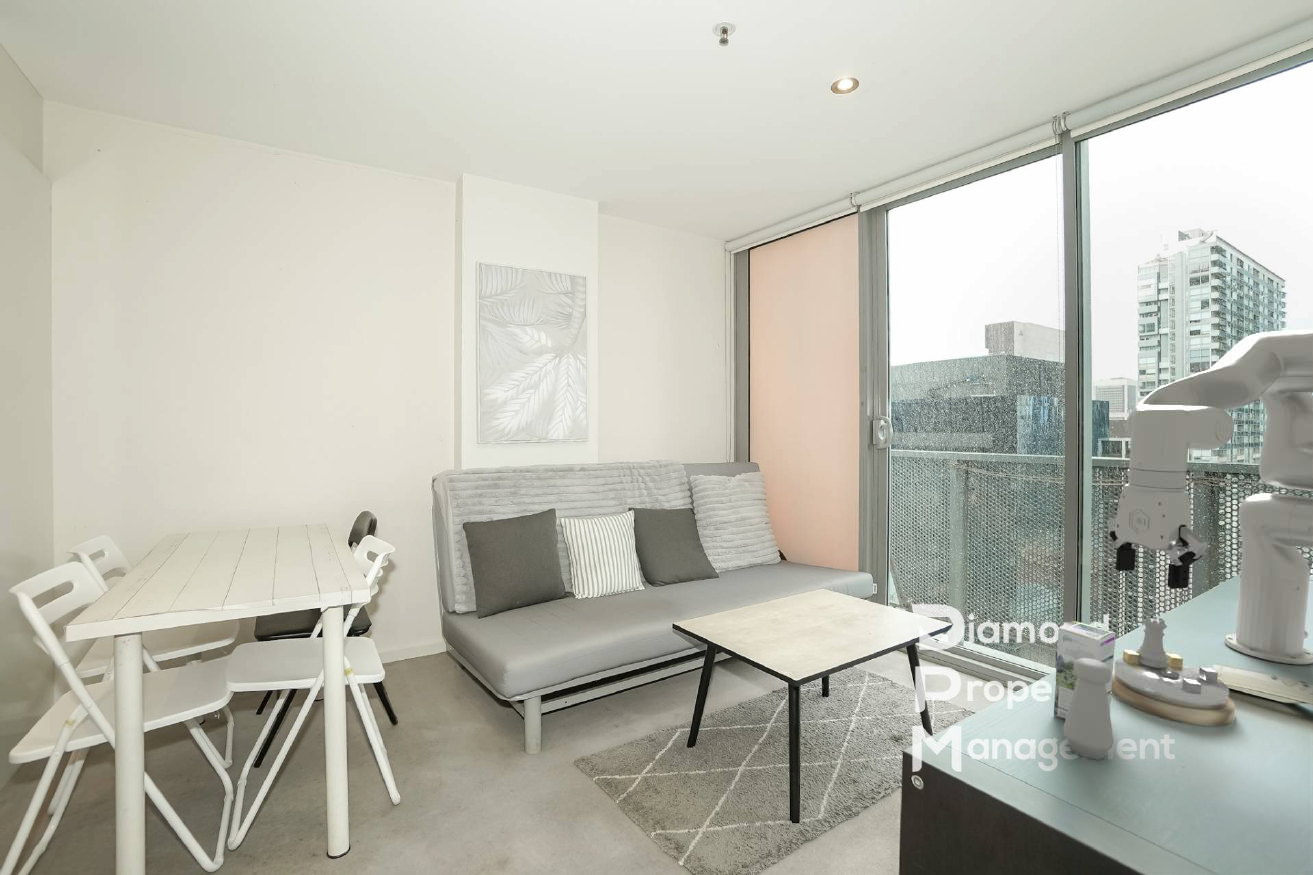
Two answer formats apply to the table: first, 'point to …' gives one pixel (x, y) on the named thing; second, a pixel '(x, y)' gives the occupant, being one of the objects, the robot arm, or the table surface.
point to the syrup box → (1075, 645)
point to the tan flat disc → (1174, 708)
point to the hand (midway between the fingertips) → (1150, 578)
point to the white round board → (1172, 682)
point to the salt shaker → (1089, 711)
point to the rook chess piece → (1153, 644)
